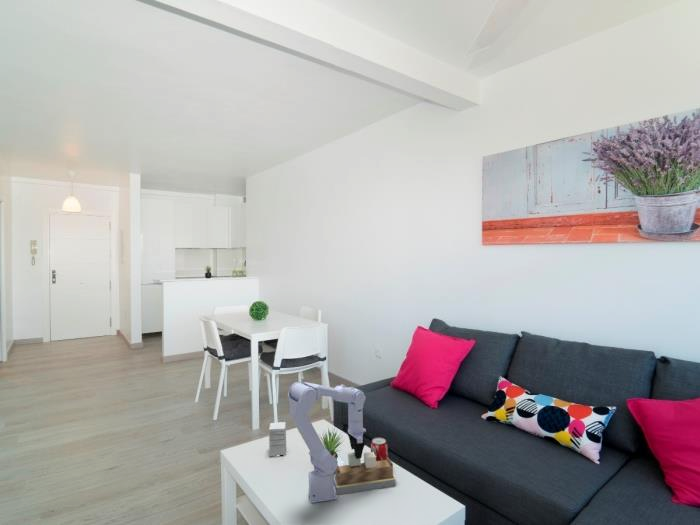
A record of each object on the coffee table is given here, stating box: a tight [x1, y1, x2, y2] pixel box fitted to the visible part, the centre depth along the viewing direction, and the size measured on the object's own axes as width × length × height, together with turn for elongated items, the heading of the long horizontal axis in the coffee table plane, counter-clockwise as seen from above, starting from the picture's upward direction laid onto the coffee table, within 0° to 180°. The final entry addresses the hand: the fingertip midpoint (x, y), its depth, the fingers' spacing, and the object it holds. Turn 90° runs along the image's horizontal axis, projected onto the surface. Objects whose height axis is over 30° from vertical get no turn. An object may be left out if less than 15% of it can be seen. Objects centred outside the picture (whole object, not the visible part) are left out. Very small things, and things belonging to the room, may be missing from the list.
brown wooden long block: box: [334, 457, 394, 485], centre depth 148 cm, size 22×5×5 cm, turn 102°
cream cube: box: [363, 451, 376, 468], centre depth 149 cm, size 4×4×4 cm
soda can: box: [370, 437, 389, 461], centre depth 159 cm, size 7×7×12 cm
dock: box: [334, 475, 396, 496], centre depth 148 cm, size 23×8×3 cm, turn 102°
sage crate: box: [347, 452, 362, 466], centre depth 150 cm, size 4×4×4 cm
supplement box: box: [268, 421, 287, 457], centre depth 175 cm, size 7×7×13 cm
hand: (356, 453), depth 152 cm, fingers open, 7 cm apart
